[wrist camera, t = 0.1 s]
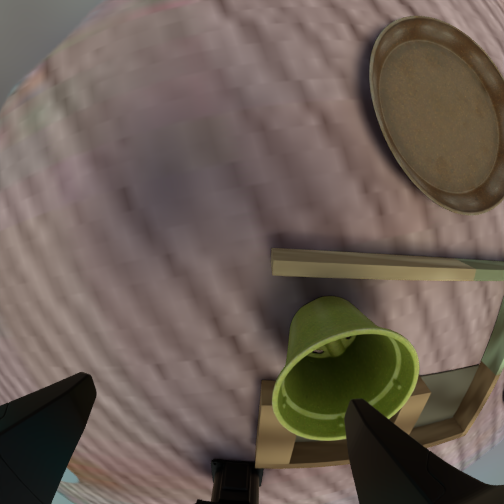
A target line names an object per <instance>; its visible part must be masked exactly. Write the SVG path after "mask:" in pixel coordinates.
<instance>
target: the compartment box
mask: <svg viewBox="0 0 504 504" xmlns="http://www.w3.org/2000/svg"><path fill="white" fill-rule="evenodd" d="M271 268H272V275H277V276H298V277H322V278H350V279H383V280H433V281H504V261H489V260H473V259H457V258H441V257H424V256H408V255H391V254H373V253H356V252H338V251H320V250H301V249H283V248H272V249H271ZM503 368H504V298H503V301H502V305H501V308H500V311H499V314H498V318H497V321H496V324H495V326H494V329H493V332H492V335H491V338H490V340H489V343H488V346H487V348H486V351H485V353H484V355H483V358H482V360H481V363H480V365H479V364H478V365H474V366H470V367H465V368H461V369H456V370H451V371H446V372H441V373H435V374H429V375H423V376H420V375H418V380H417V383H416V386H415V389H414V391H413V393H412V394H411V396H410V398H409V399H408V401H407V402H406V403H405V405H404V406H403V407H402V408H401V409H400V410H399V411H398V412H397V413H396V414H395V415H393V416H392V417H391V418H390V419H389V420H390V421H392V422H393V423H394V424H396V425H397V426H398V427H399V428H401V429H402V430H403V431H405V432H406V433H407V434H408V435H410V436H411V437H412V438H414V439H415V440H416V441H418V442H419V443H420V444H422V445H423V446H424V447H426V448H428V447H432V446H435V445H438V444H442V443H445V442H448V441H451V440H454V439H456V438H459V437H462V436H465V435H466V433H467V432H468V430H469V429H470V427H471V426H472V424H473V423H474V421H475V420H476V418H477V416H478V415H479V413H480V411H481V410H482V408H483V406H484V404H485V403H486V401H487V399H488V397H489V396H490V394H491V392H492V390H493V388H494V386H495V384H496V382H497V380H498V378H499V376H500V374H501V372H502V370H503ZM275 382H276V381H271V380H262V383H261V395H260V406H259V416H258V427H257V437H256V451H255V468H272V469H283V468H312V467H325V466H336V465H345V464H350V461H349V456H348V448H347V439H341V440H332V441H322V440H312V439H307V438H304V437H301V436H298V435H296V434H294V433H292V432H290V431H288V430H287V429H286V428H285V427H283V426H282V425H281V424H280V422H279V421H278V419H277V418H276V416H275V414H274V412H273V408H272V393H273V389H274V385H275Z"/></svg>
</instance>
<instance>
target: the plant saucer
mask: <svg viewBox="0 0 504 504" xmlns="http://www.w3.org/2000/svg"><path fill="white" fill-rule="evenodd" d="M369 81H370V90H371V96H372V101H373V106H374V110H375V113H376V117H377V120H378V123H379V126H380V128H381V131H382V133H383V136H384V138H385V140H386V142H387V144H388V146H389V148H390V150H391V152H392V153H393V155H394V157H395V159H396V160H397V162H398V163H399V165H400V166H401V168H402V169H403V171H404V172H405V173H406V175H407V176H408V177H409V178H410V180H411V181H412V182H413V183H414V184H415V185H416V186H417V187H418V188H419V189H420V190H421V191H422V192H423V193H424V194H425V195H426V196H427V197H428V198H430V199H431V200H432V201H433V202H435V203H436V204H438V205H439V206H441V207H443V208H445V209H447V210H449V211H451V212H454V213H458V214H462V215H479V214H482V213H486V212H488V211H490V210H492V209H493V208H495V207H496V206H497V205H498V204H500V203H501V202H502V201H503V199H504V78H503V76H502V75H501V73H500V72H499V70H498V68H497V67H496V65H495V64H494V63H493V61H492V60H491V58H490V57H489V56H488V55H487V54H486V53H485V51H484V50H483V49H482V48H481V47H480V46H479V45H478V44H477V43H476V42H475V41H473V40H472V39H471V38H470V37H469V36H467V35H466V34H465V33H463V32H462V31H460V30H459V29H457V28H456V27H454V26H452V25H450V24H448V23H446V22H443V21H441V20H438V19H435V18H430V17H425V16H409V17H404V18H401V19H398V20H396V21H394V22H392V23H391V24H389V25H388V26H387V27H386V28H385V29H384V30H383V31H382V32H381V33H380V35H379V36H378V38H377V39H376V41H375V44H374V46H373V49H372V53H371V58H370V66H369Z"/></svg>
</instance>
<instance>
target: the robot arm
mask: <svg viewBox="0 0 504 504" xmlns="http://www.w3.org/2000/svg"><path fill="white" fill-rule="evenodd" d="M96 395H97V392H96V388H95V385H94V382H93V379H92V376H91V375H90V374H87V373H84V372H79V373H77V374H75V375H73V376H70V377H68V378H66V379H63V380H61V381H59V382H57V383H54V384H52V385H50V386H47V387H45V388H42V389H40V390H38V391H35V392H33V393H31V394H28V395H26V396H23V397H21V398H18V399H16V400H13V401H11V402H9V403H6V404H3V405H1V406H0V504H51V503H52V500H53V498H54V495H55V493H56V491H57V488H58V486H59V484H60V481H61V479H62V477H63V474H64V472H65V470H66V467H67V465H68V463H69V461H70V459H71V456H72V454H73V452H74V450H75V448H76V446H77V444H78V441H79V439H80V437H81V435H82V433H83V431H84V429H85V426H86V424H87V421H88V418H89V415H90V412H91V410H92V407H93V404H94V401H95V399H96ZM344 423H345V431H346V439H347V448H348V456H349V461H350V465H351V469H352V474H353V478H354V482H355V486H356V491H357V495H358V499H359V504H504V485H489V484H485V483H483V482H481V481H479V480H477V479H475V478H473V477H471V476H469V475H467V474H465V473H464V472H462V471H460V470H458V469H457V468H455V467H453V466H451V465H450V464H448V463H447V462H445V461H444V460H442V459H441V458H439V457H438V456H436V455H435V454H434V453H432V452H431V451H429V450H428V449H427V448H426V447H424V446H423V445H422V444H420V443H419V442H418V441H416V440H415V439H414V438H412V437H411V436H410V435H408V434H407V433H406V432H405V431H403V430H402V429H401V428H399V427H398V426H397V425H396V424H394V423H393V422H392V421H390V420H389V419H388V418H387V417H385V416H384V415H383V414H382V413H380V412H379V411H378V410H377V409H375V408H374V407H373V406H372V405H370V404H369V403H368V402H367V401H365V400H364V399H362V398H358V399H351V400H350V402H349V405H348V408H347V410H346V413H345V417H344ZM211 468H212V476H213V483H214V484H213V491H212V497H211V502H210V501H202V500H199V499H197V502H196V503H195V504H259V487H260V486H261V482H262V476H263V470H264V468H255V463H253V462H236V461H224V460H212V461H211Z"/></svg>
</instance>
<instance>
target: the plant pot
mask: <svg viewBox="0 0 504 504" xmlns="http://www.w3.org/2000/svg"><path fill="white" fill-rule="evenodd" d="M349 336H351V337H350V338H349V339H346V338H347V337H349ZM314 350H323V351H324V352H323V353H313V352H312V351H314ZM418 375H419V360H418V356H417V353H416V351H415V349H414V347H413V346H412V344H411V343H410V342H409V341H408V340H407V339H406V338H405V337H403V336H402V335H400V334H399V333H397V332H394V331H392V330H389V329H385V328H381V327H378V326H376V325H375V324H374V323H373V322H372V321H370V320H369V319H368V318H367V317H366V316H365V315H363V314H362V313H361V312H360V311H359V310H358V309H357V308H356V307H355V306H353V305H352V304H351V303H350V302H348V301H347V300H345V299H343V298H340V297H335V296H325V297H320V298H317V299H316V300H314V301H312V302H310V303H308V304H306V305H304V306H303V307H301V308H300V309H299V310H298V312H297V313H296V314H295V316H294V318H293V320H292V322H291V326H290V333H289V342H288V351H287V359H286V365H285V367H284V368H283V370H282V371H281V373H280V374H279V376H278V378H277V380H276V382H275V385H274V389H273V393H272V408H273V412H274V414H275V416H276V418H277V419H278V421H279V422H280V424H281V425H282V426H283V427H285V428H286V429H287V430H288V431H290V432H292V433H294V434H296V435H298V436H301V437H304V438H307V439H312V440H322V441H332V440H341V439H346V431H345V423H344V417H345V413H346V410H347V408H348V405H349V402H350V400H351V399H358V398H362V399H364V400H365V401H367V402H368V403H369V404H370V405H372V406H373V407H374V408H375V409H377V410H378V411H379V412H380V413H382V414H383V415H384V416H385V417H387V418H388V419H390V418H391V417H392V416H393V415H395V414H396V413H397V412H398V411H399V410H400V409H401V408H402V407H403V406H404V405H405V403H406V402H407V401H408V399H409V398H410V396H411V394H412V393H413V391H414V389H415V386H416V383H417V380H418Z"/></svg>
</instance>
